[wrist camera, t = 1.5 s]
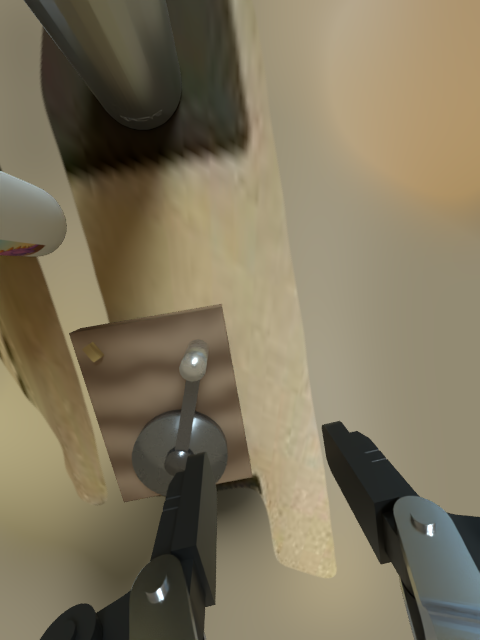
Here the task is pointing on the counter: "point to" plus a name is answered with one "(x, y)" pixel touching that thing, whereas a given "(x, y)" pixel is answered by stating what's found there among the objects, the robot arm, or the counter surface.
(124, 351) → the stand
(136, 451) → the gray disc with handle
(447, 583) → the robot arm
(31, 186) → the milk bottle
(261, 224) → the counter surface
